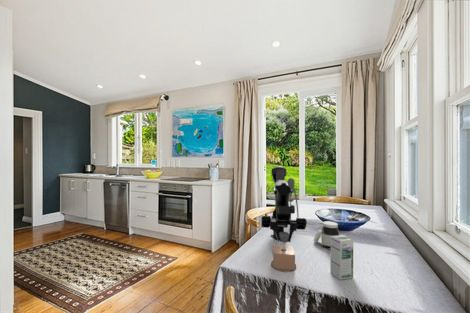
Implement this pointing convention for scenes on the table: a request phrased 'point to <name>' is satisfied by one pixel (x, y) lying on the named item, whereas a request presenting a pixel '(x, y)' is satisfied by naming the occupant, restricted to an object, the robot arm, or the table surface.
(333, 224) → the spread jar
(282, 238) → the pump head
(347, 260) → the syrup box
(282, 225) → the robot arm
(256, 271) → the table surface
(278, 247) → the brown squat piece
